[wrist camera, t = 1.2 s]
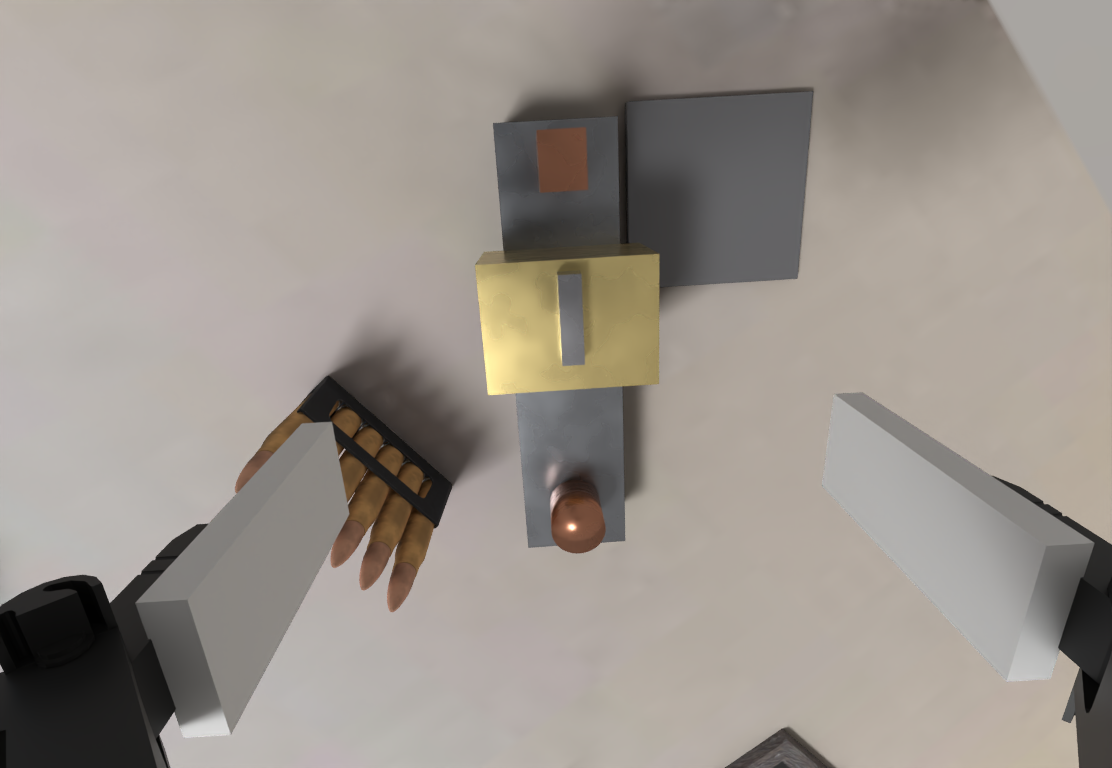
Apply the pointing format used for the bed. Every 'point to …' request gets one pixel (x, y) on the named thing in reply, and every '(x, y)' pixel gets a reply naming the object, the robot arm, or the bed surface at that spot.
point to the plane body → (582, 414)
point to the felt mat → (718, 185)
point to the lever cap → (569, 317)
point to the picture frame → (778, 754)
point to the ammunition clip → (370, 487)
